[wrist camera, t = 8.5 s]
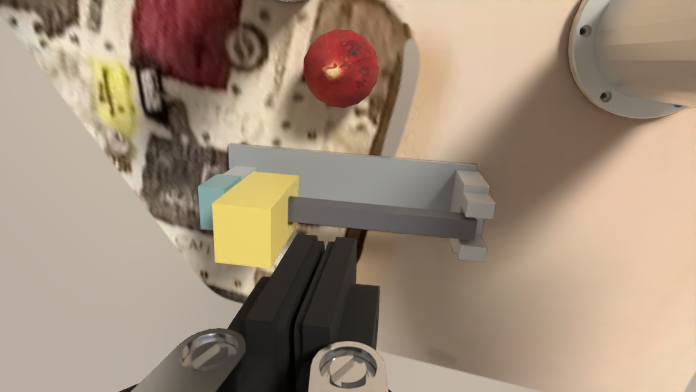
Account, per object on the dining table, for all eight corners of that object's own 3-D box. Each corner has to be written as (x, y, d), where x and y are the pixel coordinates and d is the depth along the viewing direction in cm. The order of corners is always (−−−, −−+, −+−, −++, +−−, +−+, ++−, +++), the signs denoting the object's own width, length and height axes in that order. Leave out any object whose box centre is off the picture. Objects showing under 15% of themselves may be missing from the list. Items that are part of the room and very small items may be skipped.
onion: (351, 17, 34) (338, 5, 26) (393, 73, 35) (392, 76, 27) (300, 63, 35) (274, 65, 28) (342, 115, 36) (328, 130, 29)
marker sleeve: (298, 175, 34) (270, 209, 26) (297, 223, 36) (270, 268, 28) (253, 171, 35) (211, 203, 27) (253, 218, 36) (214, 262, 28)
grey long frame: (478, 164, 36) (500, 193, 29) (466, 235, 39) (484, 279, 31) (230, 143, 38) (188, 164, 31) (232, 211, 41) (194, 247, 33)
